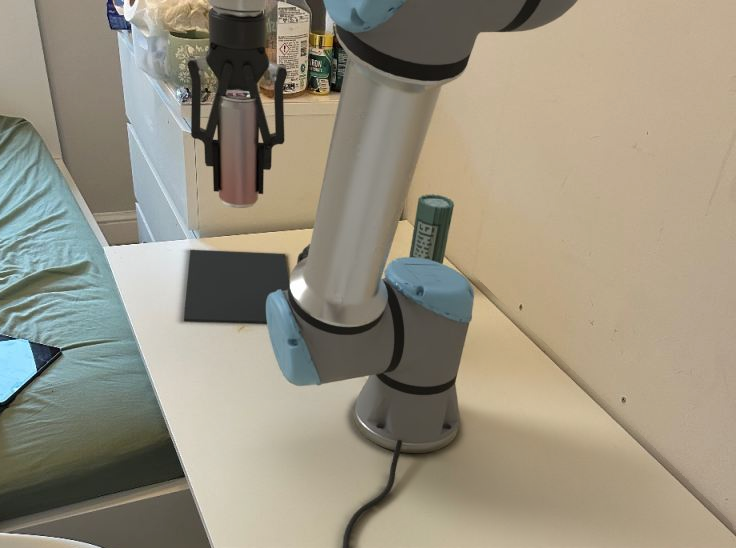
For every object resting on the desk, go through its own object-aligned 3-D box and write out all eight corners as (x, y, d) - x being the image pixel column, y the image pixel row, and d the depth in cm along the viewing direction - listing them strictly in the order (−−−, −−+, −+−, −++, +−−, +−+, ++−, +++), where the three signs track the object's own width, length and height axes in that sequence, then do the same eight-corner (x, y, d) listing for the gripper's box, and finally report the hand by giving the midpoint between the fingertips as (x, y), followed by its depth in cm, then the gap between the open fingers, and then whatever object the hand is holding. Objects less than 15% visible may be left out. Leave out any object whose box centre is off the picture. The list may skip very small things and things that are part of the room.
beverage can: (215, 193, 115) (213, 86, 105) (253, 193, 117) (254, 87, 106) (222, 209, 111) (220, 99, 101) (261, 208, 113) (263, 100, 102)
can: (442, 278, 143) (458, 200, 132) (431, 290, 138) (446, 210, 128) (414, 269, 144) (427, 191, 134) (401, 281, 140) (414, 201, 130)
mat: (292, 324, 125) (292, 322, 124) (183, 320, 122) (183, 318, 122) (284, 255, 143) (284, 253, 143) (190, 251, 140) (190, 249, 140)
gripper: (307, 10, 101) (298, 183, 117) (164, -4, 98) (176, 176, 114) (311, 22, 95) (302, 202, 111) (161, 8, 92) (173, 195, 108)
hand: (238, 189), depth 112 cm, fingers closed on beverage can, 6 cm apart
